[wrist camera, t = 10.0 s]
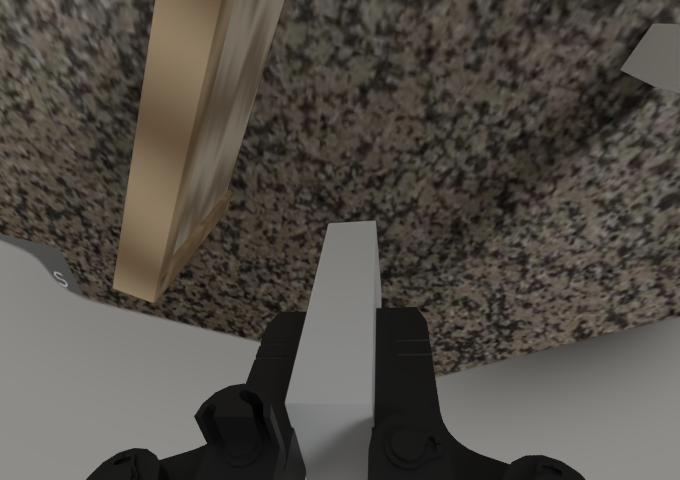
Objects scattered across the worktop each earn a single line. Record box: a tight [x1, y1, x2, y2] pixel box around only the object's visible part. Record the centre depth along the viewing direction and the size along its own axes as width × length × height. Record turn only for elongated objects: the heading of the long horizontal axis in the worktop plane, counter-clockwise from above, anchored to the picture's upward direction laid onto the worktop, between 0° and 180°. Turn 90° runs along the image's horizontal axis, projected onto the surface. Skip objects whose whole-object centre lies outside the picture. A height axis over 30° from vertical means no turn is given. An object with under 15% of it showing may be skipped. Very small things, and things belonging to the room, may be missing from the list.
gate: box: [113, 0, 284, 303], centre depth 21 cm, size 22×2×12 cm, turn 157°
